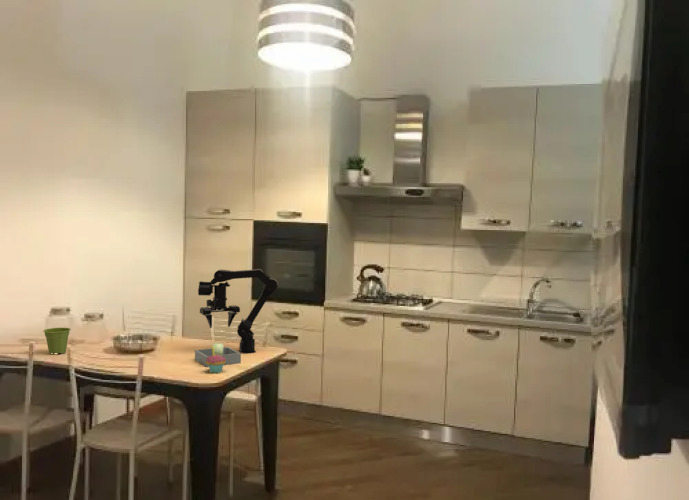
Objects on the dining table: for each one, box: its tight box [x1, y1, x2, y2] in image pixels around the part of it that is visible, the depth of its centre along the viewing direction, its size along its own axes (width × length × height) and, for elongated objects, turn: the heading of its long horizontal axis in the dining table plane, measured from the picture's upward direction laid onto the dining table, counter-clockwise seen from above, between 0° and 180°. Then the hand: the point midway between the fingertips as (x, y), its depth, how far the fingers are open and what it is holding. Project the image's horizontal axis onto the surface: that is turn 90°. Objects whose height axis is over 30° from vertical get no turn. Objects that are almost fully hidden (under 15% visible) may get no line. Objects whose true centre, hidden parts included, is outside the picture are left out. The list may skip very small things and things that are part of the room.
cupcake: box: [206, 343, 226, 374], centre depth 266 cm, size 9×8×12 cm
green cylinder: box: [212, 342, 224, 355], centre depth 284 cm, size 5×5×7 cm
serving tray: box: [194, 346, 242, 368], centre depth 284 cm, size 16×16×4 cm
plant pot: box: [42, 327, 71, 354], centre depth 294 cm, size 12×12×11 cm
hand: (219, 327), depth 304 cm, fingers open, 9 cm apart
